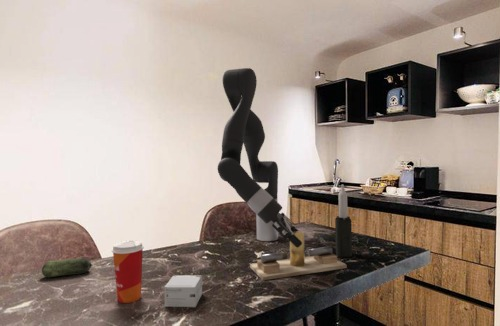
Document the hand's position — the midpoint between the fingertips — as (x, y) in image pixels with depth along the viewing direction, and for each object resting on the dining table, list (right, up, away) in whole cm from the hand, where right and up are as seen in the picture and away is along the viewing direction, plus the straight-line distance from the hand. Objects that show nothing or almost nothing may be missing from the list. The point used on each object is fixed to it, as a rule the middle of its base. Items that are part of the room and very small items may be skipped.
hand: (300, 242), depth 103 cm
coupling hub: (-1, -7, +1) cm, 7 cm away
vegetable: (-73, -10, -1) cm, 73 cm away
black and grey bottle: (+17, -8, +13) cm, 23 cm away
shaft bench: (-1, -8, 0) cm, 8 cm away
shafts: (-1, -5, 0) cm, 5 cm away
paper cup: (-47, -10, -20) cm, 52 cm away
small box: (-33, -10, -21) cm, 40 cm away
